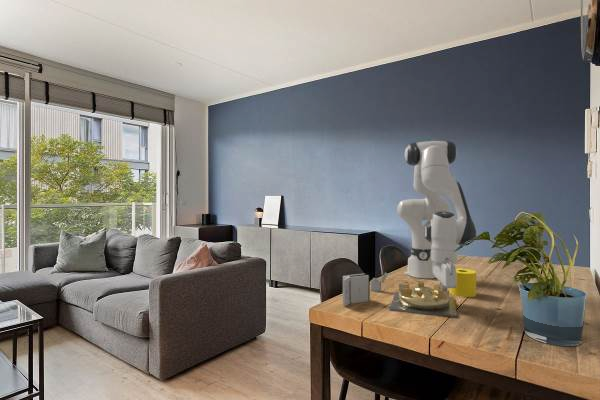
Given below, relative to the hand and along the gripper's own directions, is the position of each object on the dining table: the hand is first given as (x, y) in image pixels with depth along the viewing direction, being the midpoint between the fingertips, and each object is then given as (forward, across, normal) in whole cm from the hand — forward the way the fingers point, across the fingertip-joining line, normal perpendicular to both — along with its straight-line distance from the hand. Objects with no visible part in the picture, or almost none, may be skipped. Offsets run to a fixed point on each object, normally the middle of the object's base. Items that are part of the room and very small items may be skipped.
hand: (443, 293), depth 128 cm
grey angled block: (+5, +18, +22) cm, 29 cm away
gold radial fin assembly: (+4, +1, +7) cm, 8 cm away
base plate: (+5, +1, +7) cm, 9 cm away
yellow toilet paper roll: (+5, +19, -12) cm, 23 cm away
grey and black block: (+5, 0, +32) cm, 33 cm away
